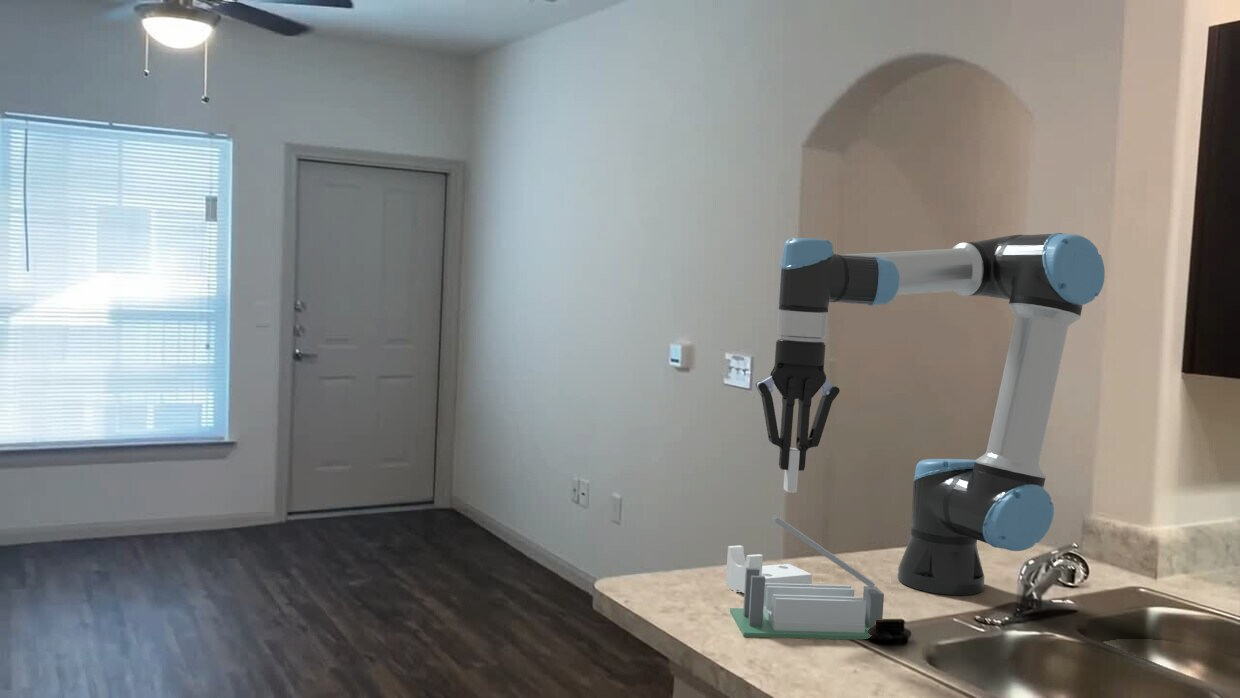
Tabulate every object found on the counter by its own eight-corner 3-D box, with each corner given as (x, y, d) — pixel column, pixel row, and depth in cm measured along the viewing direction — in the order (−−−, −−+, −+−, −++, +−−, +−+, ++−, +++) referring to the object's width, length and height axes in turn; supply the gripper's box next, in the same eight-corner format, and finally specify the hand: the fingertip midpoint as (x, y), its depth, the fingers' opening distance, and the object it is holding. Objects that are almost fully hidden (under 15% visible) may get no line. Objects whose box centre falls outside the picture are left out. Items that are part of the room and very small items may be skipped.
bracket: (747, 600, 181) (749, 556, 180) (725, 588, 187) (727, 546, 186) (810, 594, 186) (813, 551, 186) (787, 583, 193) (790, 541, 192)
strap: (868, 584, 169) (870, 580, 169) (872, 588, 167) (875, 584, 167) (771, 518, 167) (774, 514, 167) (774, 521, 165) (777, 517, 165)
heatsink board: (869, 615, 175) (872, 566, 174) (893, 640, 163) (896, 587, 162) (729, 611, 173) (732, 561, 172) (743, 636, 161) (746, 583, 161)
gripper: (835, 340, 169) (824, 488, 170) (754, 335, 168) (744, 484, 169) (849, 343, 161) (837, 497, 163) (764, 338, 160) (753, 493, 162)
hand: (790, 490), depth 166 cm, fingers closed
